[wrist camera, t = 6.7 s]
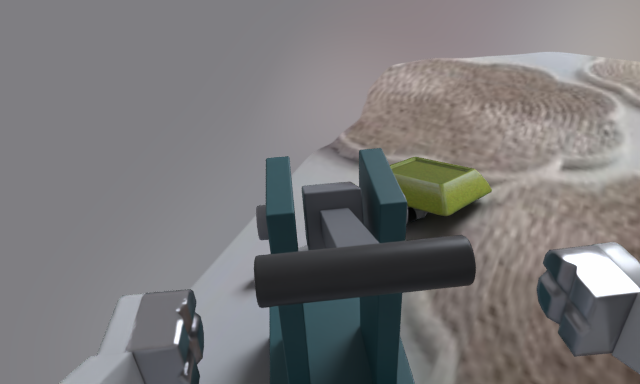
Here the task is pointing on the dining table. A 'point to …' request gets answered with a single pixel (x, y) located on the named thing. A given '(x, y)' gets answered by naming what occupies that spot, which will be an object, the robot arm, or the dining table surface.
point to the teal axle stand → (344, 314)
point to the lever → (356, 256)
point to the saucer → (438, 185)
